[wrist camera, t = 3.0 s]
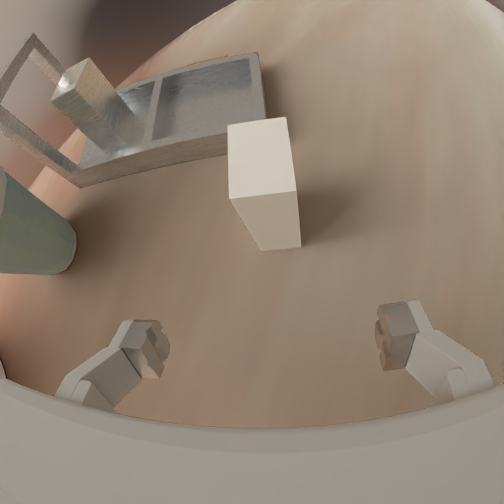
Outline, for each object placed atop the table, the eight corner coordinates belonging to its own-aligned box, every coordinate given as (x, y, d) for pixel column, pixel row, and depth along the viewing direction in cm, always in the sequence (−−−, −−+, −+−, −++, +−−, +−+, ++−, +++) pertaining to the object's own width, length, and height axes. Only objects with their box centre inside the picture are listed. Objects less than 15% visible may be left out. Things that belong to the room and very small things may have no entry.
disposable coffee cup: (96, 203, 31) (3, 141, 16) (86, 296, 28) (-30, 267, 14) (42, 215, 32) (-39, 172, 18) (32, 294, 30) (-62, 270, 15)
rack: (79, 188, 32) (-23, 115, 15) (98, 114, 35) (26, 37, 18) (271, 147, 28) (228, -16, 11) (262, 70, 31) (229, -55, 14)
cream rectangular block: (261, 251, 26) (229, 199, 15) (257, 198, 27) (227, 125, 16) (301, 247, 25) (296, 190, 15) (295, 194, 26) (285, 116, 16)
